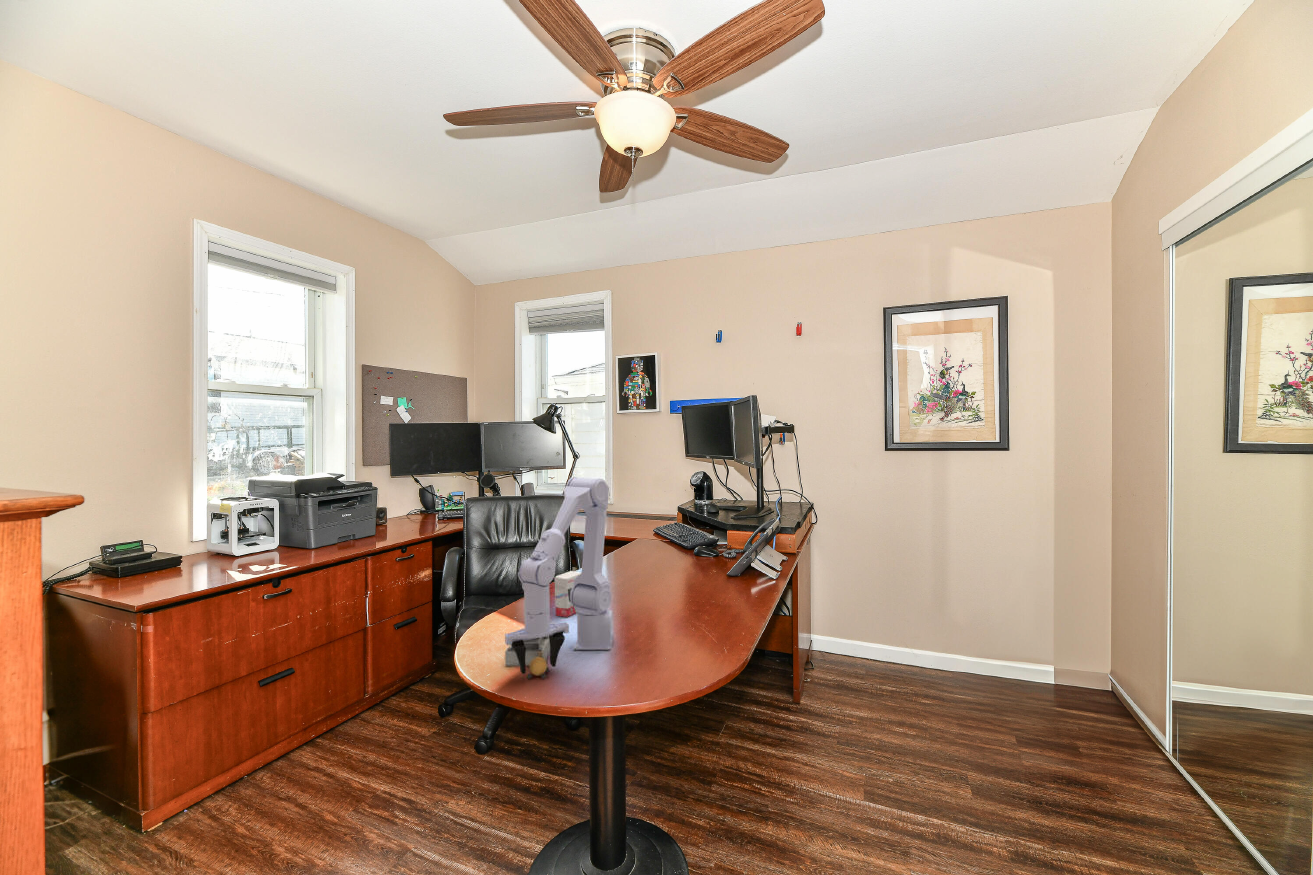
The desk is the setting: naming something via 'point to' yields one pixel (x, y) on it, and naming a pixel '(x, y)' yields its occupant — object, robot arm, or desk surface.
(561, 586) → the ink box
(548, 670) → the cradle
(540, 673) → the ball
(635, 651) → the desk surface
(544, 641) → the silver open square box
